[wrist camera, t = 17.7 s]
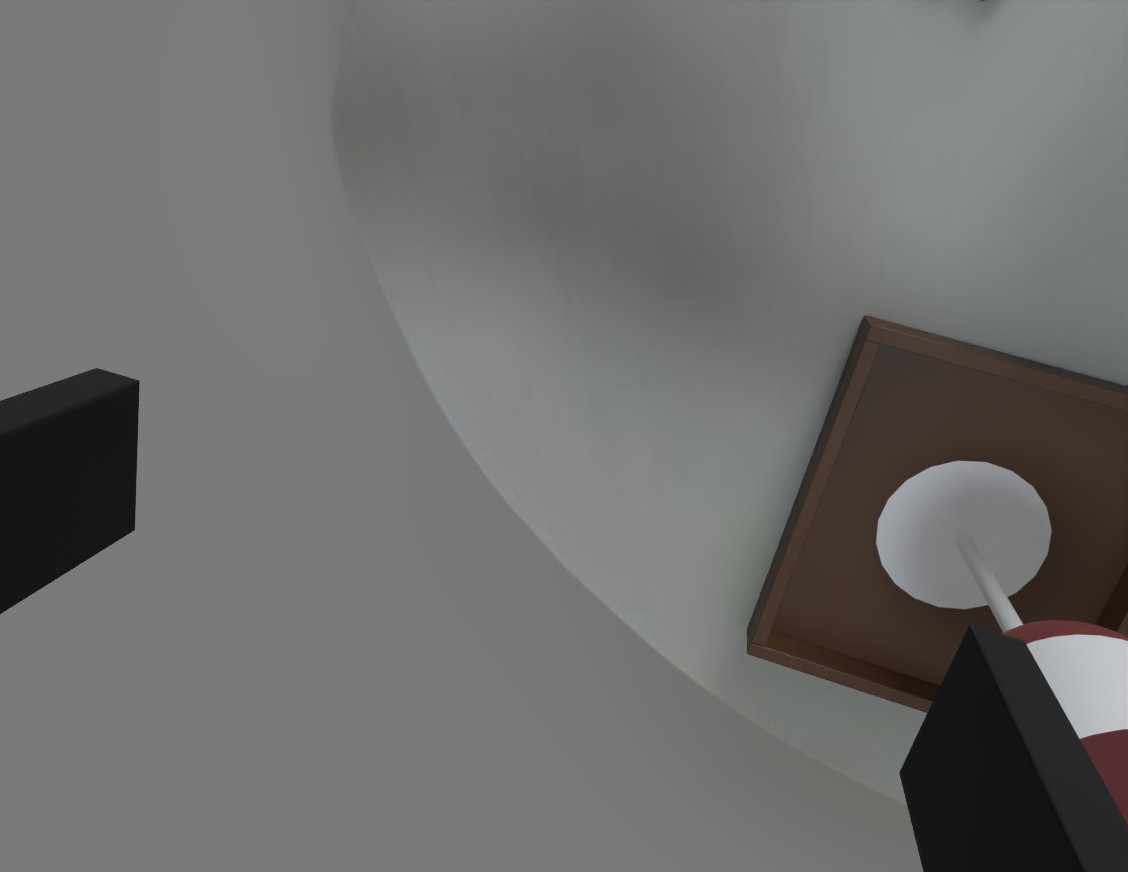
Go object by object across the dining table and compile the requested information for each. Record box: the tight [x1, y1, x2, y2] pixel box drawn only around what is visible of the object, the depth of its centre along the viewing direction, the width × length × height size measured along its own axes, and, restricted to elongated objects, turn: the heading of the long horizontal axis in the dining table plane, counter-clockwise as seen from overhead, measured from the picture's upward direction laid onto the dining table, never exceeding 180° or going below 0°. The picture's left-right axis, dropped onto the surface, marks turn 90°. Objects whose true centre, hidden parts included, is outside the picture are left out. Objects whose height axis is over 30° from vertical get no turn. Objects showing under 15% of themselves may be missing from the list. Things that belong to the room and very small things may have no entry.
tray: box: [747, 316, 1128, 713], centre depth 44 cm, size 20×18×3 cm
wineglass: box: [876, 461, 1128, 824], centre depth 34 cm, size 9×10×23 cm
